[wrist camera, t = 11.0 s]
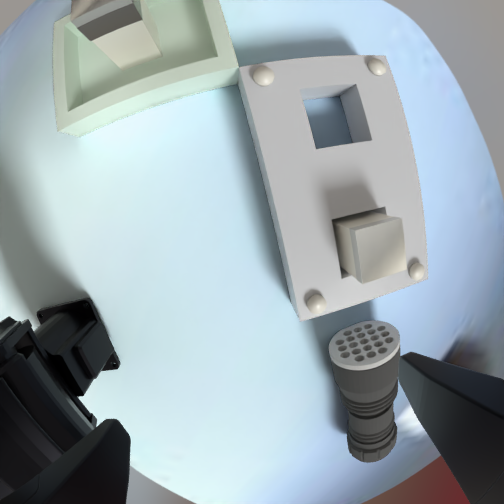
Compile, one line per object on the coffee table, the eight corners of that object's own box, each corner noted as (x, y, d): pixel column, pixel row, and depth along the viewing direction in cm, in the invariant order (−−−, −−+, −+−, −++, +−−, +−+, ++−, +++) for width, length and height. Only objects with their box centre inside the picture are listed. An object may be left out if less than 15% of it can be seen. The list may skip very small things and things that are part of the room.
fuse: (330, 259, 20) (362, 284, 15) (323, 218, 19) (355, 230, 14) (367, 249, 20) (406, 269, 15) (361, 209, 19) (402, 218, 14)
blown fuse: (122, 71, 15) (69, 22, 8) (118, 40, 15) (72, -14, 7) (163, 57, 15) (128, -5, 8) (157, 26, 15) (126, -38, 7)
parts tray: (79, 137, 17) (57, 131, 14) (70, 37, 14) (54, 22, 11) (237, 83, 17) (238, 66, 14) (209, -13, 15) (207, -36, 12)
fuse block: (291, 303, 21) (301, 324, 17) (237, 83, 17) (239, 64, 14) (407, 267, 21) (431, 280, 17) (367, 69, 17) (388, 53, 14)
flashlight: (386, 421, 25) (405, 453, 20) (342, 440, 25) (356, 475, 20) (379, 312, 22) (413, 344, 16) (320, 336, 22) (342, 375, 16)
